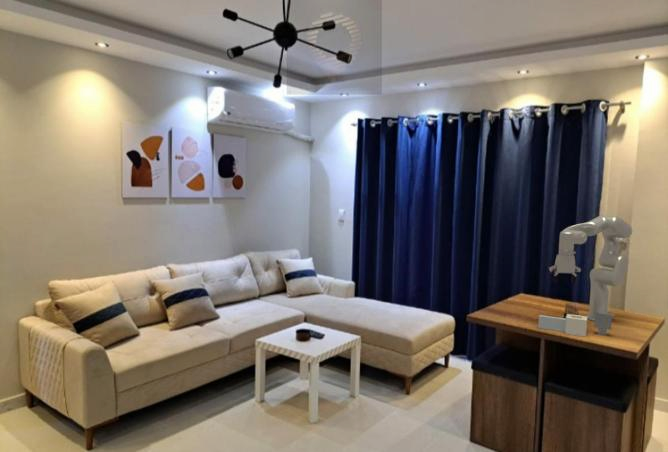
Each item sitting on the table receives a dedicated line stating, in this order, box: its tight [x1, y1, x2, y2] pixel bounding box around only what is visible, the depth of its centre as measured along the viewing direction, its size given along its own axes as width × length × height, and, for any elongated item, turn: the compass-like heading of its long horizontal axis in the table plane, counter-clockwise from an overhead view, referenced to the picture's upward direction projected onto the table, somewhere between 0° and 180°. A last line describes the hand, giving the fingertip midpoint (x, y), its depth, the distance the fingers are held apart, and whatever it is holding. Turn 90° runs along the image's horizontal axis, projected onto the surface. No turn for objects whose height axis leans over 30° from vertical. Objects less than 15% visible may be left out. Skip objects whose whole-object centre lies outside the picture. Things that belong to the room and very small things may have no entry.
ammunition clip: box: [563, 301, 579, 319], centre depth 282 cm, size 11×2×12 cm, turn 14°
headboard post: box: [537, 314, 588, 338], centre depth 267 cm, size 9×24×9 cm, turn 62°
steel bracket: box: [593, 313, 613, 336], centre depth 262 cm, size 3×8×11 cm, turn 62°
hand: (564, 282), depth 274 cm, fingers open, 9 cm apart
